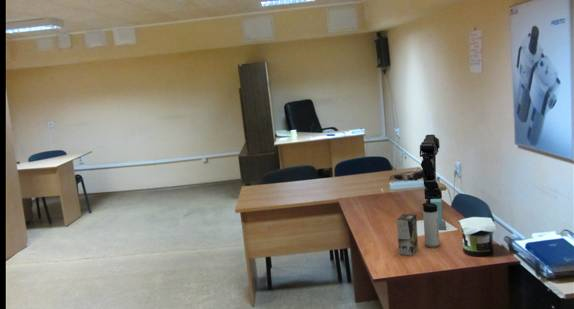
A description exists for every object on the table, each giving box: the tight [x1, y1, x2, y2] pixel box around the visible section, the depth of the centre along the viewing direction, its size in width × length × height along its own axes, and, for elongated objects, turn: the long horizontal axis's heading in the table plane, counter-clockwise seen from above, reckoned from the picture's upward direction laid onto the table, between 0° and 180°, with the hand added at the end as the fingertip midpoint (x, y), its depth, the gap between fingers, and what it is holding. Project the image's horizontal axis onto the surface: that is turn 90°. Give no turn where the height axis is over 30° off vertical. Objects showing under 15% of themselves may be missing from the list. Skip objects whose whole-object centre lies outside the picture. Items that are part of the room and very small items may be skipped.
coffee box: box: [396, 213, 419, 256], centre depth 207 cm, size 9×6×16 cm
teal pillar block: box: [430, 198, 443, 225], centre depth 229 cm, size 5×5×12 cm
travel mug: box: [421, 202, 440, 249], centre depth 210 cm, size 6×7×20 cm
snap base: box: [438, 220, 446, 230], centre depth 231 cm, size 8×8×2 cm
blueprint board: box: [416, 219, 459, 237], centre depth 233 cm, size 23×20×1 cm
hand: (430, 194), depth 245 cm, fingers open, 9 cm apart
